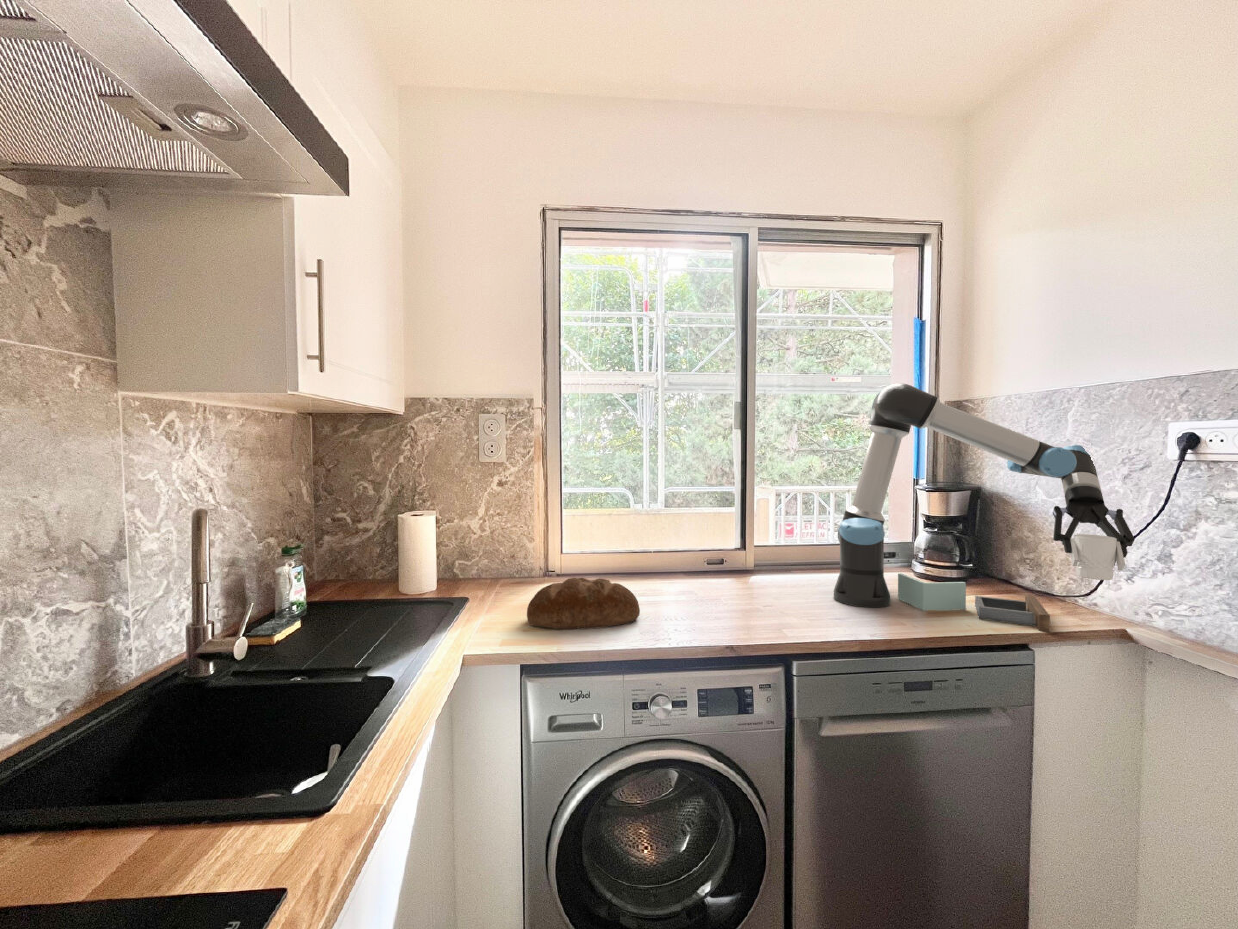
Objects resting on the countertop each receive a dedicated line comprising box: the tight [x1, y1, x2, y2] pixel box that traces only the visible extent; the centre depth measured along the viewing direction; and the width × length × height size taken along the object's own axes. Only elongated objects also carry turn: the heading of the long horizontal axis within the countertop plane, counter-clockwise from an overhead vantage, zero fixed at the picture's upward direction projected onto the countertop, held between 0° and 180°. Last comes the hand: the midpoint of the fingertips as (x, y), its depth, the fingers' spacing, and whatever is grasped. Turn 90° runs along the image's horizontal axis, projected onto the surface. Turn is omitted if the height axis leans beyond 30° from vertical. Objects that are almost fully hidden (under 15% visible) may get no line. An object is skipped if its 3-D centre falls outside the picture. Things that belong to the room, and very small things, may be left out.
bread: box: [526, 577, 641, 630], centre depth 137 cm, size 16×29×11 cm, turn 99°
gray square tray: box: [974, 595, 1036, 627], centre depth 139 cm, size 12×12×3 cm
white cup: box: [1073, 533, 1117, 581], centre depth 130 cm, size 8×8×10 cm
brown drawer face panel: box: [1024, 594, 1051, 633], centre depth 135 cm, size 2×20×4 cm, turn 150°
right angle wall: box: [897, 572, 967, 612], centre depth 150 cm, size 12×12×8 cm
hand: (1098, 565), depth 127 cm, fingers closed on white cup, 8 cm apart
